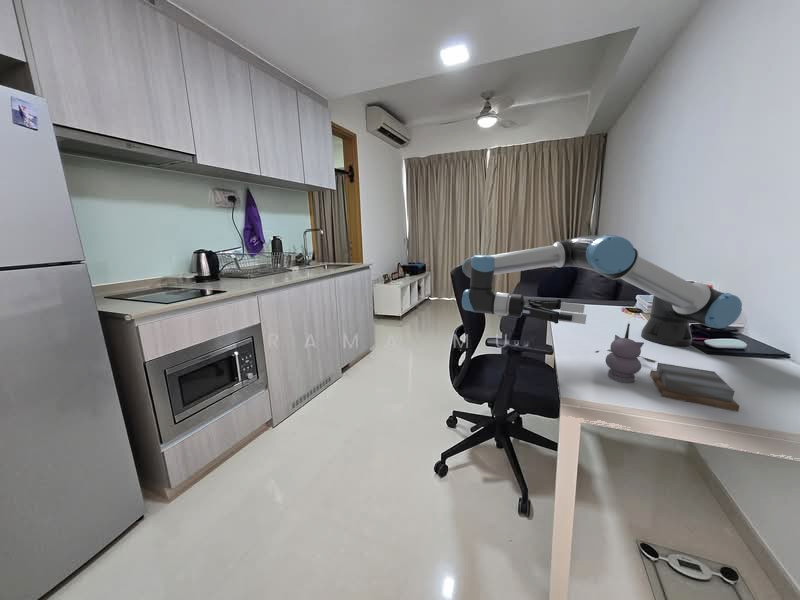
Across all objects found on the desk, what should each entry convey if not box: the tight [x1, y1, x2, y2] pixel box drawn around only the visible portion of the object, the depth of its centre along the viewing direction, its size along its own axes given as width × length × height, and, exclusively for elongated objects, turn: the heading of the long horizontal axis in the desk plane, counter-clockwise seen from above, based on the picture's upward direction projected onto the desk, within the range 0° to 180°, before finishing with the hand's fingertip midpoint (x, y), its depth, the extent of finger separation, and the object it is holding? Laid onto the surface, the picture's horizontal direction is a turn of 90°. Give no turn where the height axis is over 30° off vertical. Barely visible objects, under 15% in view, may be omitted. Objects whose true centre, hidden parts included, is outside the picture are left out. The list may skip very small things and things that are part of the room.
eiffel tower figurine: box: [594, 322, 657, 363], centre depth 102 cm, size 15×10×13 cm
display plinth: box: [649, 362, 740, 413], centre depth 81 cm, size 14×14×4 cm
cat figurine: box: [605, 334, 645, 384], centre depth 87 cm, size 9×8×12 cm
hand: (585, 313), depth 90 cm, fingers open, 13 cm apart
